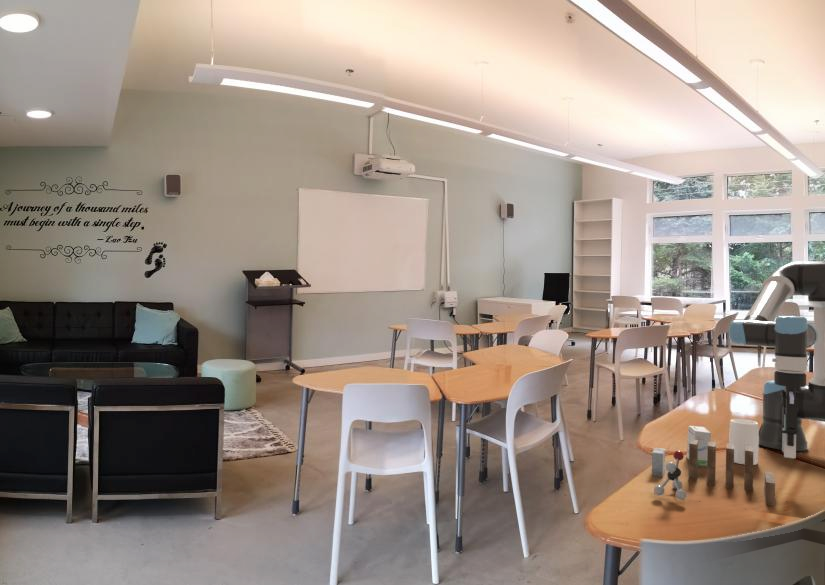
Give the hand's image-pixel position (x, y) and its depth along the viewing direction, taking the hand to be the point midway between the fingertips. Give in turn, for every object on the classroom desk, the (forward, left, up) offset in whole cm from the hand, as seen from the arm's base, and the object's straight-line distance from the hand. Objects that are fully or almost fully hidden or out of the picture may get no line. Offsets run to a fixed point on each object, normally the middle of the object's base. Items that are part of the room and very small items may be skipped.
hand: (788, 454), depth 163 cm
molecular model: (+30, -11, -11) cm, 34 cm away
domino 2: (+12, -15, -11) cm, 22 cm away
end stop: (+21, -26, -11) cm, 35 cm away
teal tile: (0, 0, 0) cm, 0 cm away
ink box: (+2, -29, -11) cm, 31 cm away
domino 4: (+6, -7, -11) cm, 15 cm away
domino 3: (+9, -11, -11) cm, 18 cm away
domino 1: (+15, -18, -11) cm, 26 cm away
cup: (-12, -24, -11) cm, 29 cm away
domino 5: (+5, -2, -8) cm, 10 cm away
